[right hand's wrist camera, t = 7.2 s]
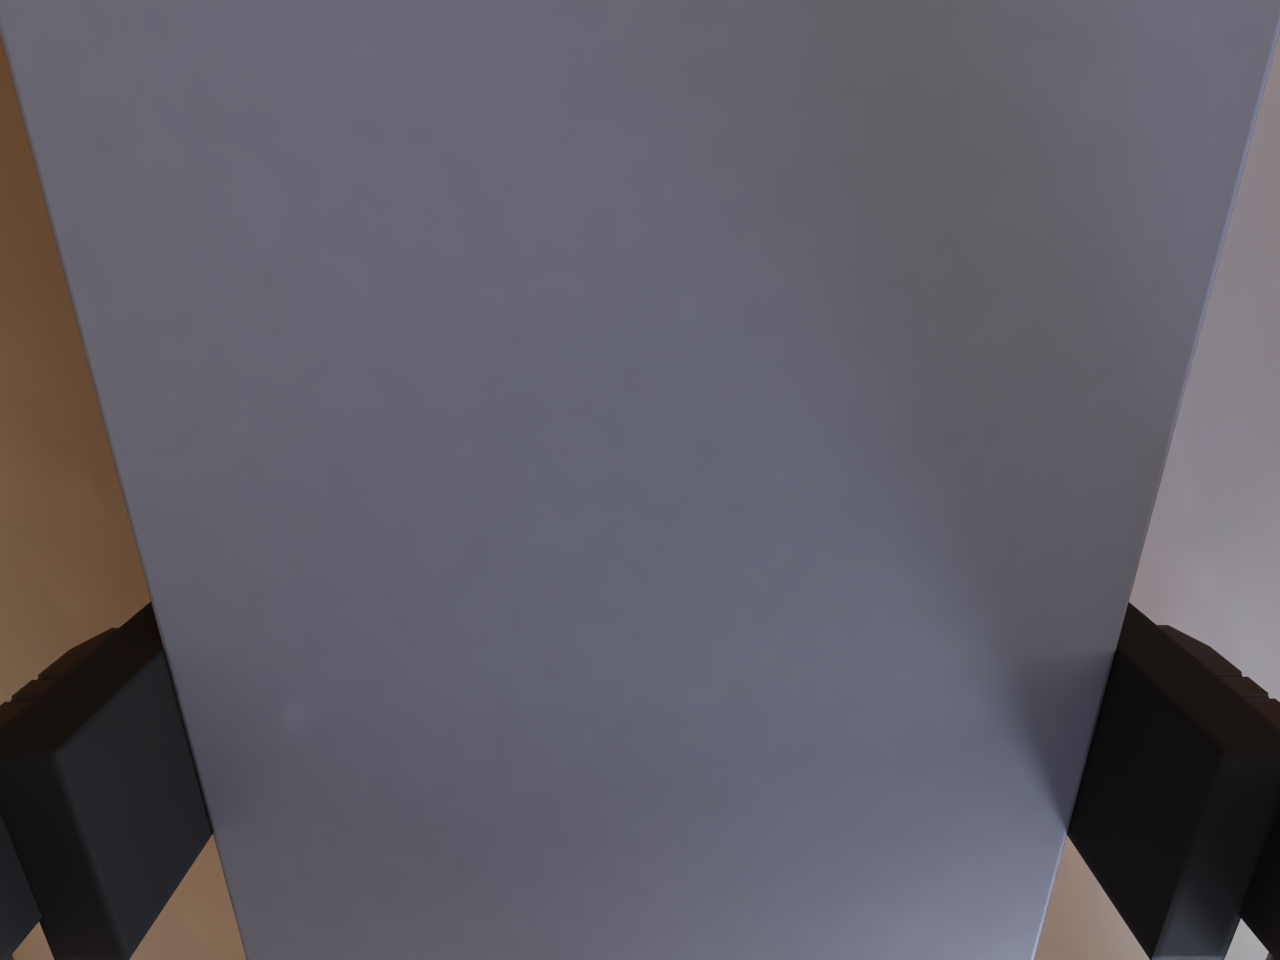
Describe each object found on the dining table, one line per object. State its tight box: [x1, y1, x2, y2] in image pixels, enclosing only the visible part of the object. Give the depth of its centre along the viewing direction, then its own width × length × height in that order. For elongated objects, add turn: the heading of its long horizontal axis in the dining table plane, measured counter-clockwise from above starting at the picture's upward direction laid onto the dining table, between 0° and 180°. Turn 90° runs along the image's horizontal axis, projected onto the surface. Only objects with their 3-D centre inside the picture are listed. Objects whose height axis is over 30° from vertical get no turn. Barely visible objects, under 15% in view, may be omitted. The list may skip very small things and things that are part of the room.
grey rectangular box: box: [0, 0, 1280, 960], centre depth 11 cm, size 20×11×10 cm, turn 0°
